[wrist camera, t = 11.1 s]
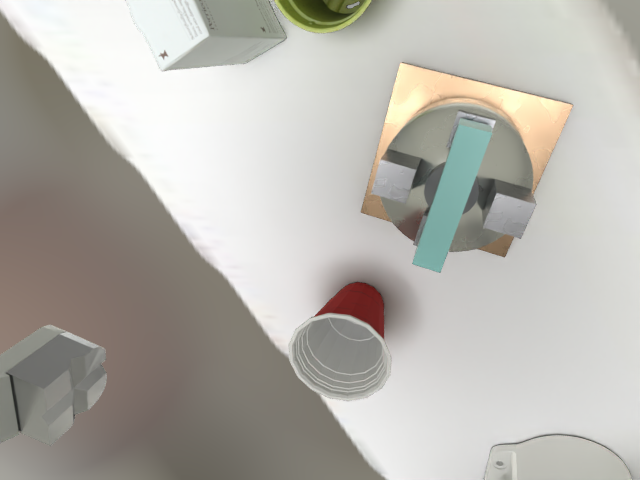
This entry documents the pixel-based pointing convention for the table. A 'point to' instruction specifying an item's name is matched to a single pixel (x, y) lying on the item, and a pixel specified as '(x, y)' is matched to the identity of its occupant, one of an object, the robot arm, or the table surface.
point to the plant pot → (322, 13)
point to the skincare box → (206, 31)
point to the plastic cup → (344, 346)
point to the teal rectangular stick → (451, 192)
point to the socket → (434, 145)
